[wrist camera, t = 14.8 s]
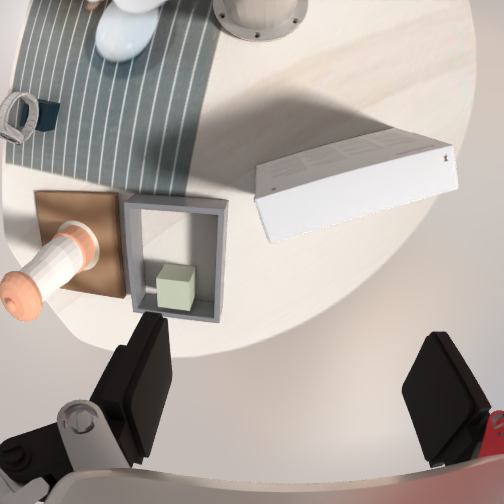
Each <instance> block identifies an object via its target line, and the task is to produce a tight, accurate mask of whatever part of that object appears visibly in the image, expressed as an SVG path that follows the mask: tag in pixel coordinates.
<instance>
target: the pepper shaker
mask: <svg viewBox="0 0 504 504" xmlns="http://www.w3.org/2000/svg"><path fill="white" fill-rule="evenodd" d="M94 255H95V246H94V242H93V240H92V238H91V236H90V235H89V233H88V232H87V231H86V230H84V229H83V228H82V227H79V226H76V225H71V226H68V227H66V228H64V229H63V230H61V231H60V232H59V233H57V234H56V235H55V236H54V237H53V238H52V240H51V241H50V242H49V243H47V244H46V245H44V246H43V247H42V248H41V250H40V251H39V252H38V253H37V254H36V256H35V257H34V258H33V259H32V260H31V261H30V262H29V263H28V264H27V265H25V266H24V267H23V268H22V269H21V270H20V271H12V272H9V273H7V274H5V276H4V278H3V279H2V281H1V284H0V298H1V300H2V303H3V305H4V306H5V308H6V309H7V311H8V312H9V313H10V314H11V315H12V316H13V317H15V318H17V319H18V320H20V321H31V320H34V319H36V318H37V317H38V316H39V315H40V312H41V309H42V305H43V302H44V301H45V300H46V299H47V298H48V297H49V296H50V295H51V294H52V293H53V292H54V291H55V290H57V289H58V288H60V287H61V286H63V285H64V284H66V283H67V282H69V281H70V279H71V278H72V277H73V276H74V275H75V274H78V273H80V272H81V271H82V270H83V269H84V268H85V267H86V266H87V265H88V264H89V263H90V262H91V261H92V260H93V258H94Z"/></svg>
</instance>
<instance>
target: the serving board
mask: <svg viewBox="0 0 504 504" xmlns="http://www.w3.org/2000/svg"><path fill="white" fill-rule="evenodd" d="M35 194H36V204H37V212H38V220H39V227H40V234H41V240H42V246H44V245H46V244H47V243H49V242H50V241H51V240H52V238H53V237H54V236H55V235H56V234H57V233H59V232H60V231H61V230H63V229H64V228H66V227H68V226H71V225H76V226H79V227H82V228H83V229H84V230H86V231H87V232H88V233H89V235H90V236H91V238H92V240H93V242H94V246H95V255H94V258H93V260H92V261H91V262H90V263H89V264H88V265H87V266H86V267H85V268H84V269H83V270H82V271H81V272H80V273H78V274H75V275H74V276H73V277H72V278H71V279H70V281H69V282H67V283H66V284H64V285H63V286H61V287H60V288H62V289H68V290H73V291H79V292H85V293H91V294H97V295H103V296H109V297H116V298H122V299H124V298H125V296H126V289H125V280H124V271H123V261H122V250H121V238H120V223H119V205H118V193H99V192H67V191H38V192H36V193H35Z"/></svg>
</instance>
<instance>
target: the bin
mask: <svg viewBox="0 0 504 504" xmlns="http://www.w3.org/2000/svg"><path fill="white" fill-rule="evenodd" d="M228 201H229V200H218V199H205V198H191V197H177V196H161V195H143V194H135V195H134V196H132V197H131V198H130V199H128V200H127V201H125V202H124V214H125V232H126V246H127V259H128V270H129V280H130V289H131V298H132V306H133V312H137V313H143V314H144V312H145V311H149V312H156V313H161V314H162V316H164V317H172V318H179V319H187V320H195V321H204V322H213V323H219V322H220V317H221V312H222V307H223V288H224V269H225V250H226V233H227V217H228ZM141 209H146V210H161V211H174V212H187V213H200V214H212V215H218V231H217V252H216V277H215V302H209V301H200V300H193V303H192V305H191V308H190V311H187V310H179V309H172V308H164V307H158V300H157V295H150V294H146V288H145V276H144V263H143V246H142V225H141Z"/></svg>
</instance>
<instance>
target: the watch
mask: <svg viewBox="0 0 504 504" xmlns="http://www.w3.org/2000/svg"><path fill="white" fill-rule="evenodd" d="M19 97H21V98H22V99H23V100H24V101H25V102H24V107H23V112H22V117H21V123H20V126H23V127H24V128H23V129H22V132H20V131H19V130H17V129H15V128H14V127H11V126H10V125H9V124H8V125H7V121H6V120H8V114H9V112H10V109H11V107H12V106H13V104H14V102H15V101H16V100H17V98H19ZM59 107H60V103H55V102H50V101H45V100H40V99H36V98H35V97H34V96H33V95H32V94H30V93H28V92H23V91H18V92H13V93H11V94H10V95H8V96H7V97H6V98H5V100H4V101H3V102H2V104H1V106H0V138H2V139H4V140H6V141H8V142H10V143H13V144H17V145H21V143H22V142H26V140H27V139H28V138H29V137H30V136H31V134H32V133H33V131H34V129H35V130H39V131H42V132H45V131H50V130H55V125H56V120H57V116H58V111H59ZM5 111H6V112H5Z"/></svg>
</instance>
